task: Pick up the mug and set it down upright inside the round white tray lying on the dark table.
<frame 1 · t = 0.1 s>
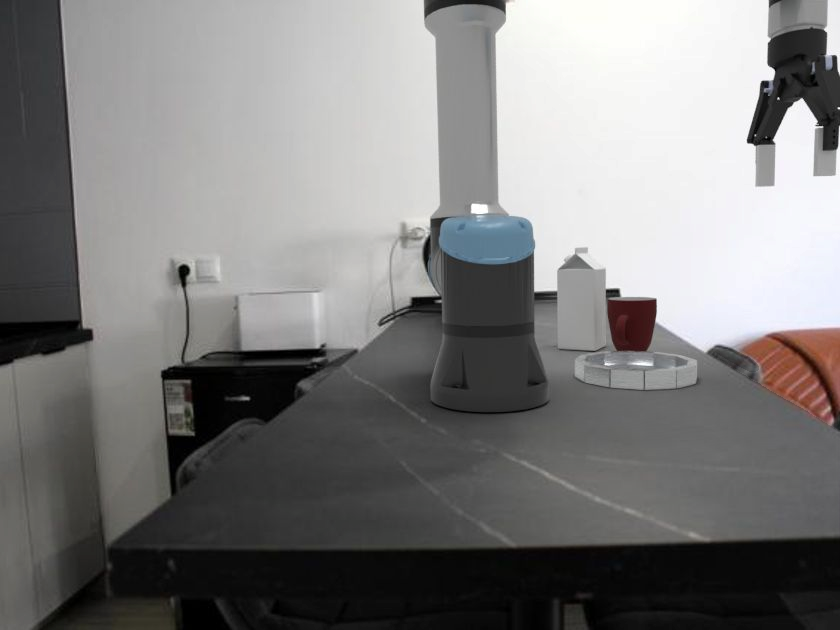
hand: (792, 181, 93), 28 cm above the table, fingers open, 13 cm apart
milk carton: (581, 349, 117), on the table
mug: (630, 358, 106), on the table
round white tray: (634, 377, 90), on the table
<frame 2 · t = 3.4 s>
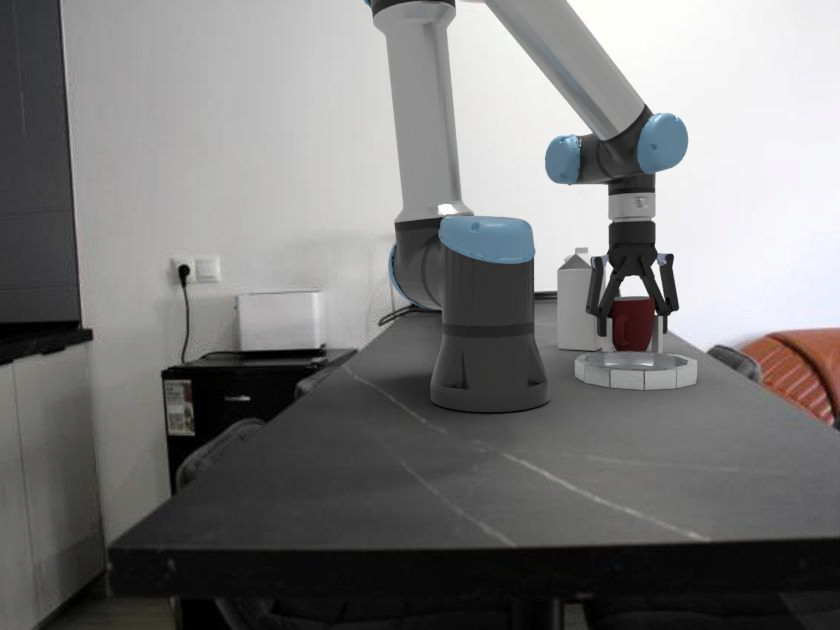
hand: (632, 354, 106), 0 cm above the table, fingers closed on mug, 8 cm apart
mug: (630, 358, 106), on the table, touching gripper
everything else where it was.
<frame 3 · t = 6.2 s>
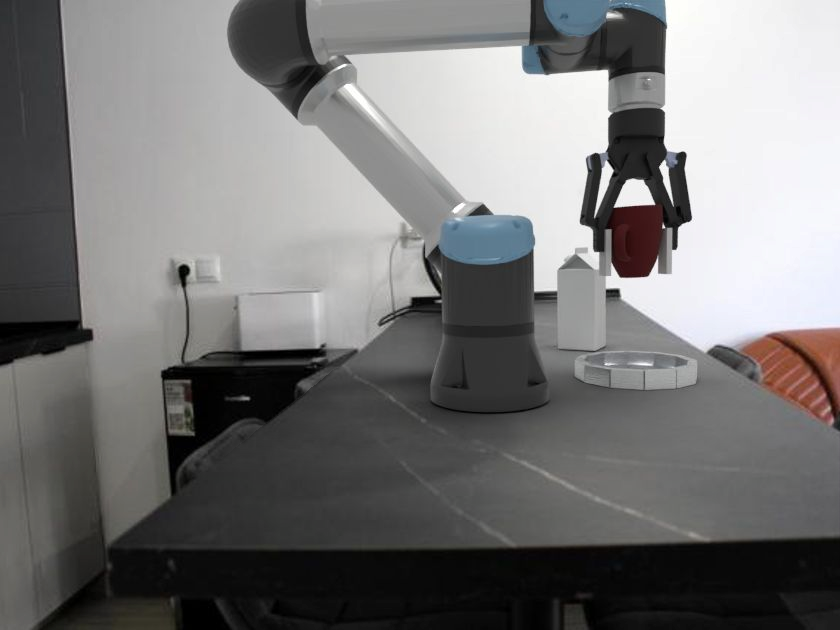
hand: (634, 274, 88), 15 cm above the table, fingers closed on mug, 8 cm apart
mug: (632, 279, 88), point 14 cm above the table, touching gripper
everything else where it was.
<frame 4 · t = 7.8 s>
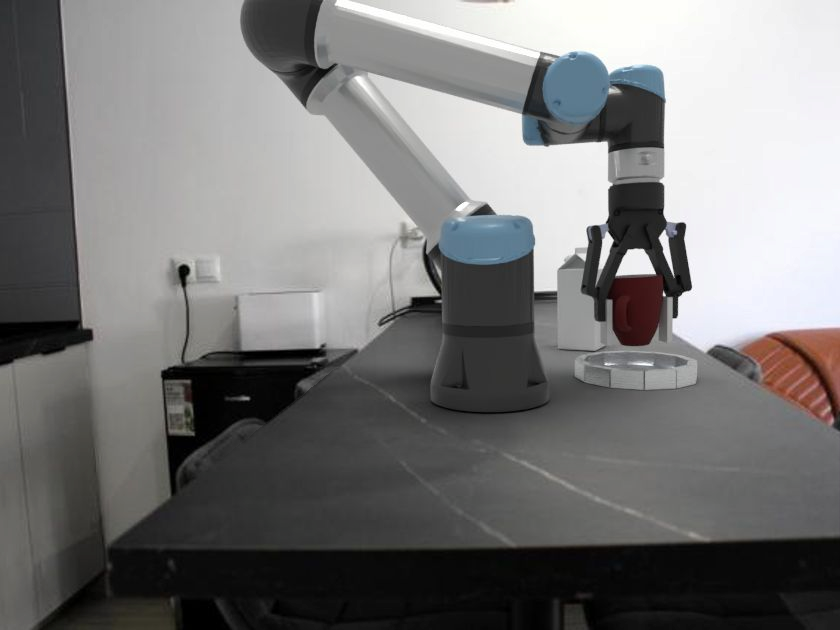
hand: (636, 342, 89), 5 cm above the table, fingers closed on mug, 8 cm apart
mug: (633, 347, 89), point 4 cm above the table, touching gripper
everything else where it was.
when the fingers open (2 cm above the table, at t = 8.9 s): mug drops 1 cm, resting on round white tray.
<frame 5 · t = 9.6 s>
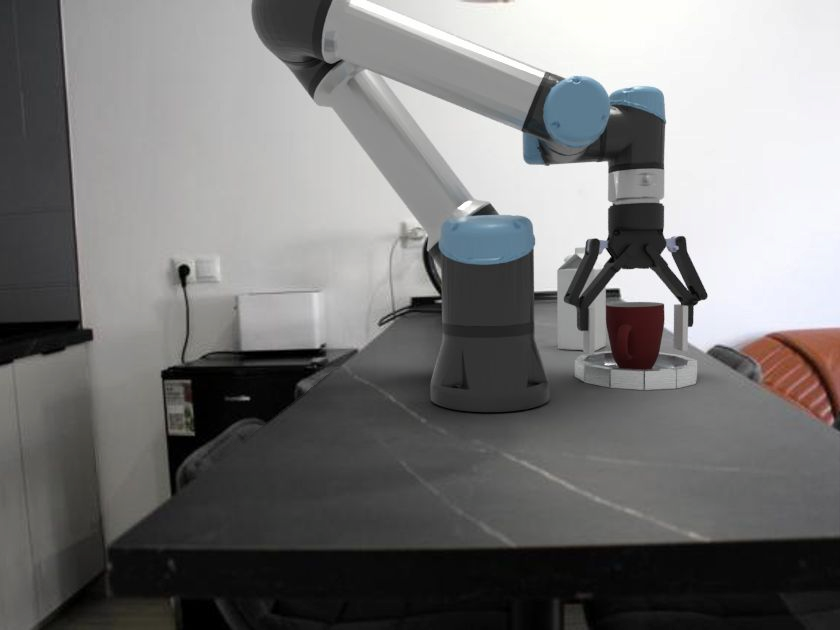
hand: (634, 351, 90), 4 cm above the table, fingers open, 13 cm apart
mug: (634, 375, 90), resting on round white tray
everything else where it was.
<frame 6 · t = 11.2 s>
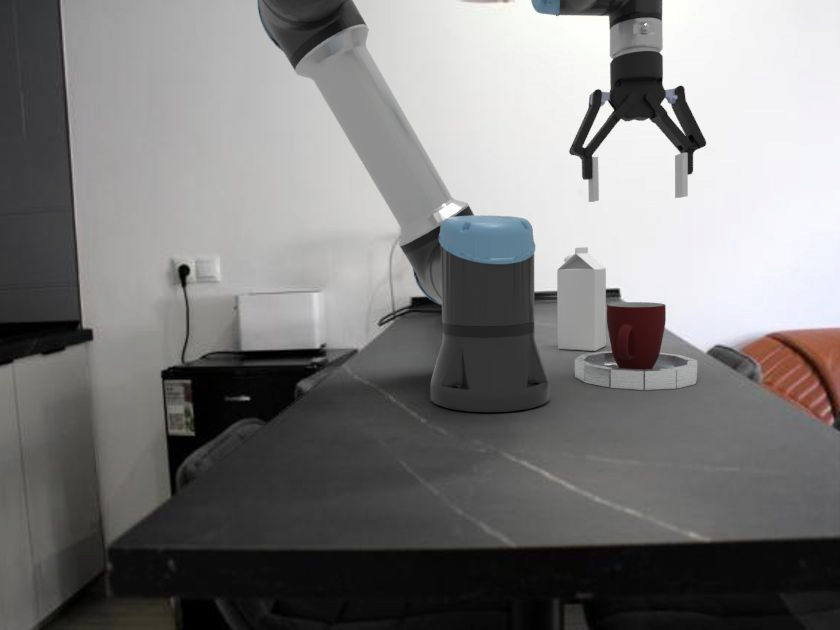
hand: (637, 199, 95), 26 cm above the table, fingers open, 13 cm apart
nothing on the table moved.
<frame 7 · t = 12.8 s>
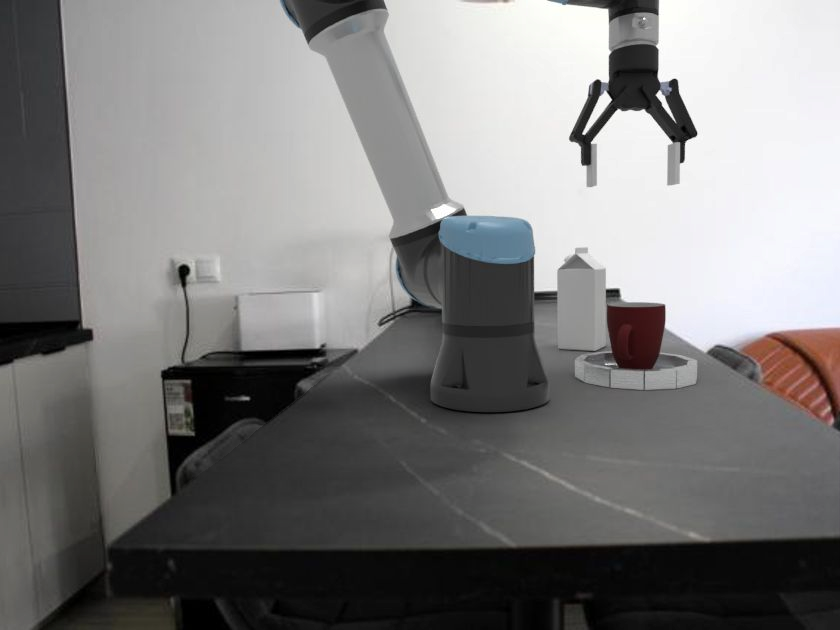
hand: (632, 185, 100), 29 cm above the table, fingers open, 13 cm apart
nothing on the table moved.
at the end: mug inside the target area on the round white tray (0.3 cm from its centre), point 0.3 cm above the round white tray's base; mug tilted 0°; the gripper is holding nothing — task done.
